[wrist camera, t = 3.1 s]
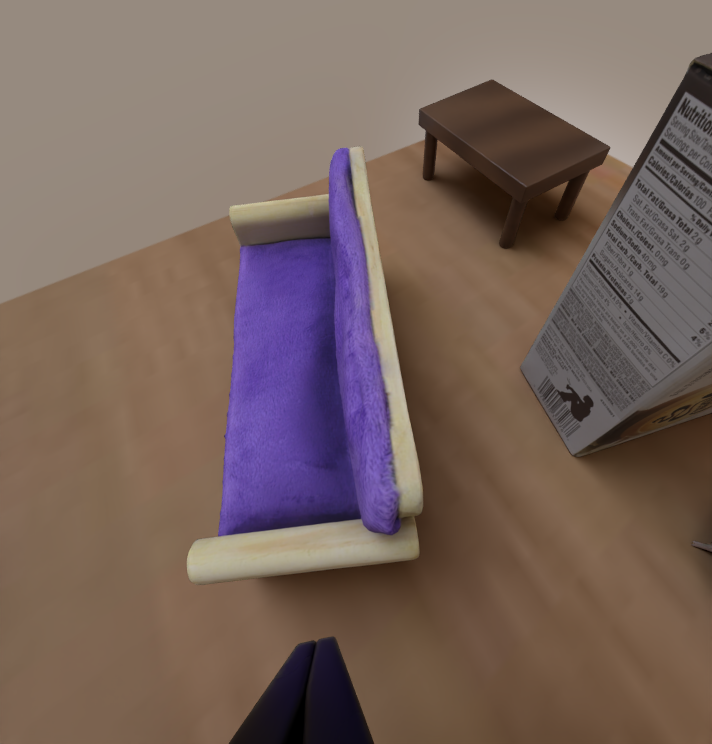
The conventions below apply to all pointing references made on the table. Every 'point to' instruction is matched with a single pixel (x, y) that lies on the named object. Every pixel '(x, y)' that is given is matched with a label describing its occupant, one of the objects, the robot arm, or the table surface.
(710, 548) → the fruit
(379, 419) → the toy sofa
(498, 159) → the coffee table
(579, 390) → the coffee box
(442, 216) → the table surface
